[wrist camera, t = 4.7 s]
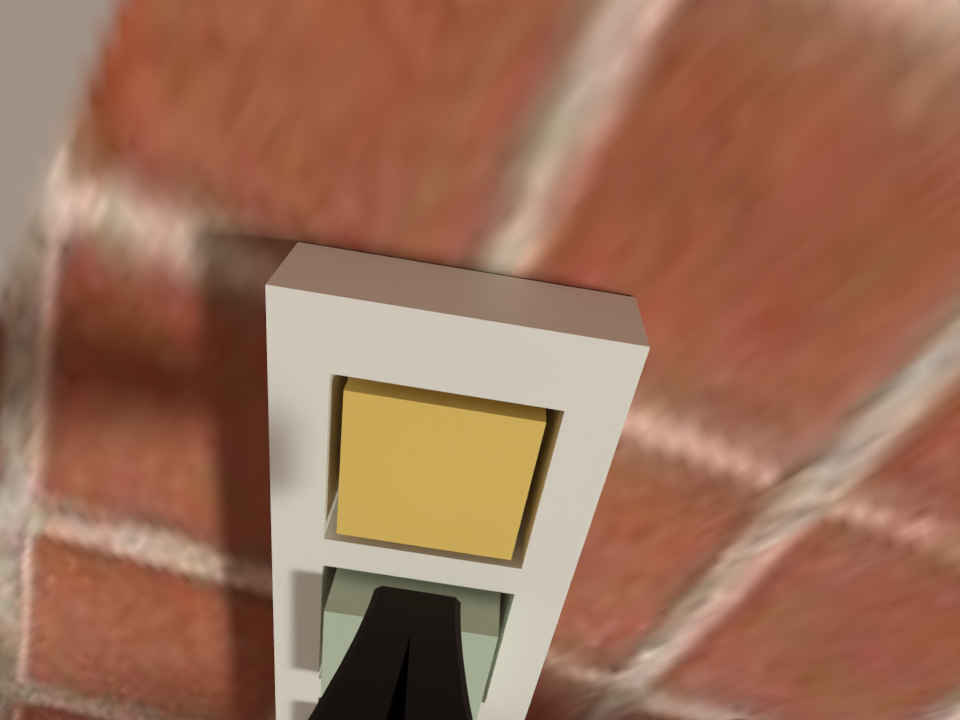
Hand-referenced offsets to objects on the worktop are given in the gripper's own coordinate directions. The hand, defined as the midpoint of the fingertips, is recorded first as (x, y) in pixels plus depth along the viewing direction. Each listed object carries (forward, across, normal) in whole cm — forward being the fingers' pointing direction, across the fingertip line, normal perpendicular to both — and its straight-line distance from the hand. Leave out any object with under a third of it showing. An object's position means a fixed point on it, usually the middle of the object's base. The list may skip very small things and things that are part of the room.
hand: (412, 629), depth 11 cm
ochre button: (+5, 0, 0) cm, 5 cm away
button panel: (+6, 0, +5) cm, 8 cm away
